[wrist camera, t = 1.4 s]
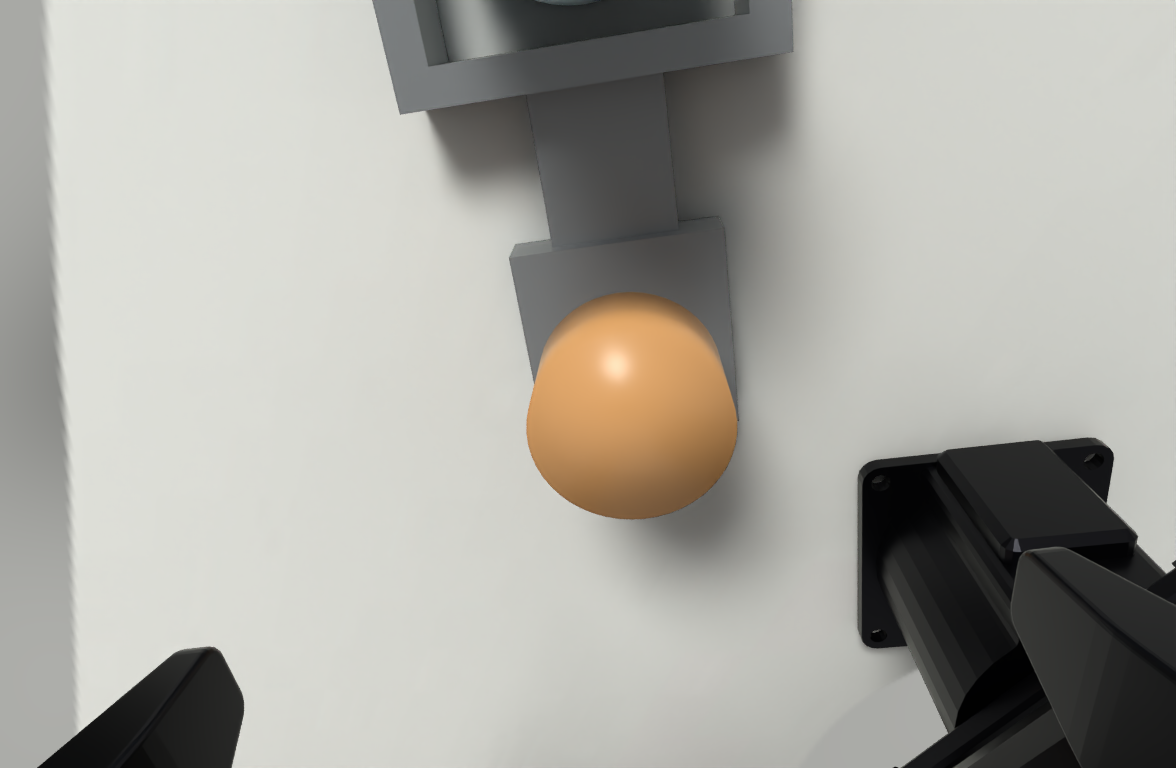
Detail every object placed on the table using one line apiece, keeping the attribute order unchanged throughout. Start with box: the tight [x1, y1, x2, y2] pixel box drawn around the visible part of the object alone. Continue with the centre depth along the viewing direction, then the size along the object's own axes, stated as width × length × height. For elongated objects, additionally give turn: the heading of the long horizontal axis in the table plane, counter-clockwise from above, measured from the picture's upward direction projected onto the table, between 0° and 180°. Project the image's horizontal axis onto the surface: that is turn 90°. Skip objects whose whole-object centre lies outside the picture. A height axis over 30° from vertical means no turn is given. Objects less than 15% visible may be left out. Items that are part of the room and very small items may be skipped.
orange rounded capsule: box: [527, 292, 737, 519], centre depth 16 cm, size 4×4×4 cm
